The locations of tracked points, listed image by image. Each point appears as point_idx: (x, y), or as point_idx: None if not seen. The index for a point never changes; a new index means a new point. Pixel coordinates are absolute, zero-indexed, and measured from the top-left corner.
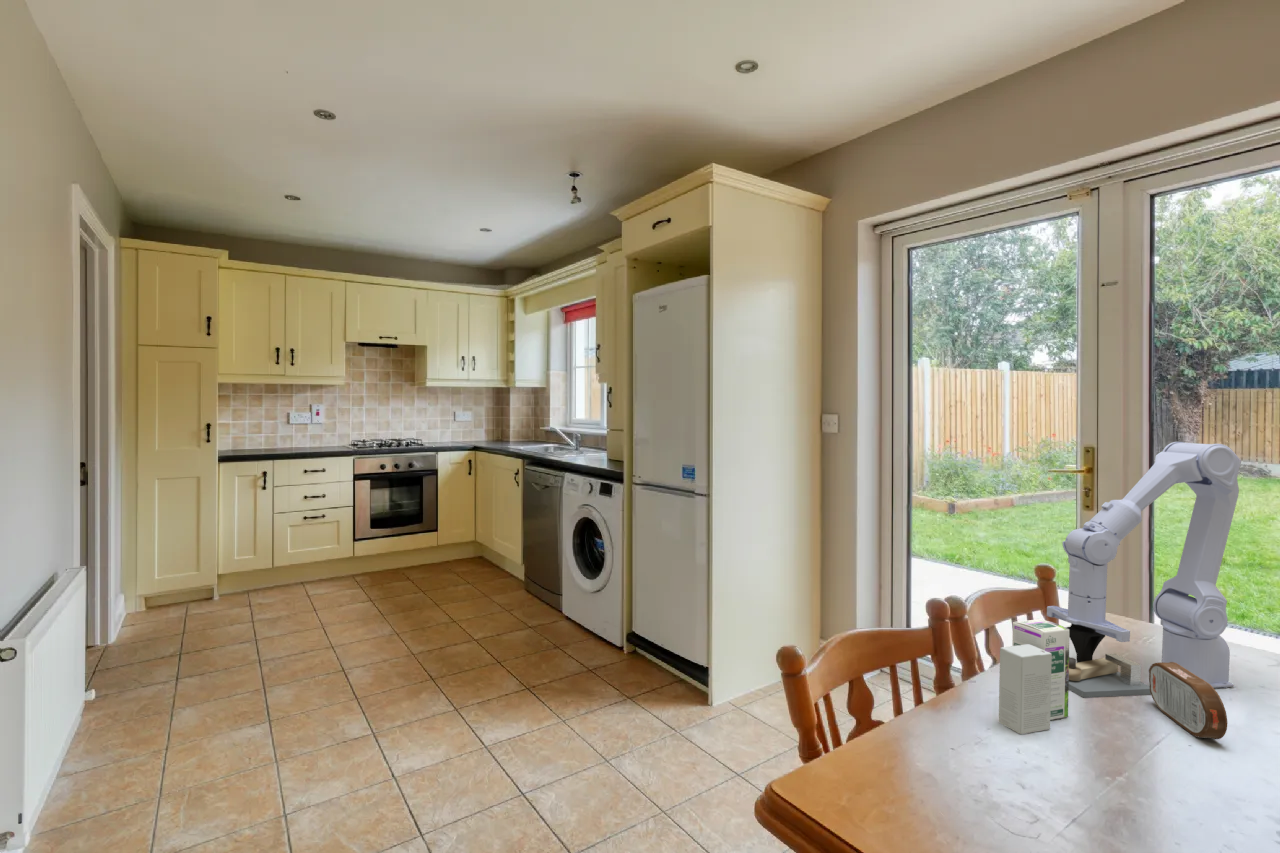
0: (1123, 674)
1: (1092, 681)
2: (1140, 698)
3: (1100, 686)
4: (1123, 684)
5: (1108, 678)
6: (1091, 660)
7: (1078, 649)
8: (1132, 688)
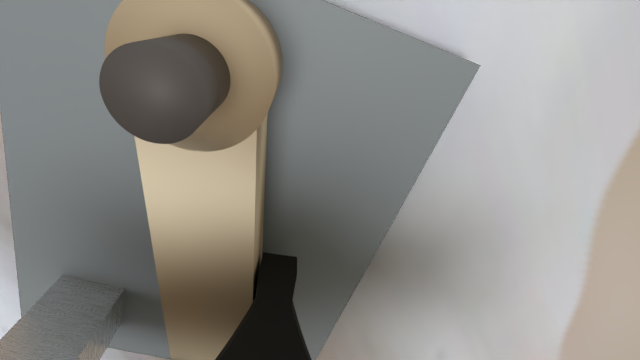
0: (79, 320)
1: None
2: (3, 222)
3: (72, 124)
4: (83, 264)
5: None
6: None
7: (264, 346)
8: (29, 254)
